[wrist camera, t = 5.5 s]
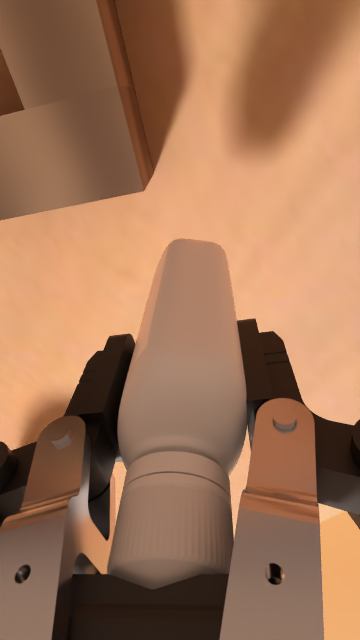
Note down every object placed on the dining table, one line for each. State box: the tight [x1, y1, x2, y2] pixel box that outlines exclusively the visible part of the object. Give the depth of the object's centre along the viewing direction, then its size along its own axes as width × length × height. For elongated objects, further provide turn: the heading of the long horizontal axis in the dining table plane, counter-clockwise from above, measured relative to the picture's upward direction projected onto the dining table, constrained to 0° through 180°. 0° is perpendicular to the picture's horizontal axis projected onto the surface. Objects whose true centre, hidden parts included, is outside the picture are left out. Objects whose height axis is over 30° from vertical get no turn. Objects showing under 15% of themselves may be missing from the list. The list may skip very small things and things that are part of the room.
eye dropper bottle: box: [107, 239, 248, 589], centre depth 10 cm, size 4×6×12 cm
